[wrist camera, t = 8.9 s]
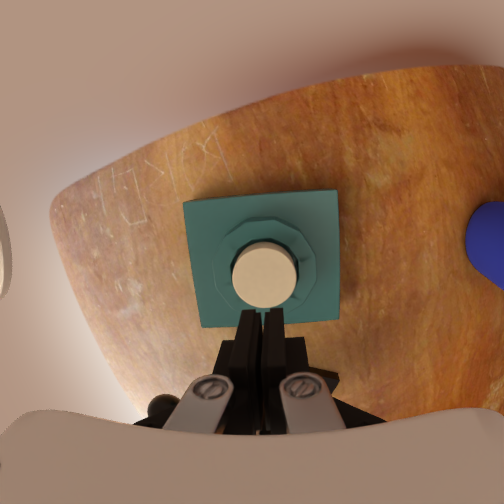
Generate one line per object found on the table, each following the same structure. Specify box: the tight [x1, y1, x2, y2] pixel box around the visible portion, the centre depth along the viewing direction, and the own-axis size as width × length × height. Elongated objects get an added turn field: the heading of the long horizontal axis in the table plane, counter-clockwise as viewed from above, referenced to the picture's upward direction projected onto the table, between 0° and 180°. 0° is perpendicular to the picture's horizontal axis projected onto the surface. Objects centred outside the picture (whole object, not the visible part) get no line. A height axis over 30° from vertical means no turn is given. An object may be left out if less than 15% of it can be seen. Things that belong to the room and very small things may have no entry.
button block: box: [183, 188, 340, 328], centre depth 21 cm, size 11×10×4 cm
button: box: [232, 242, 296, 308], centre depth 19 cm, size 4×4×2 cm
